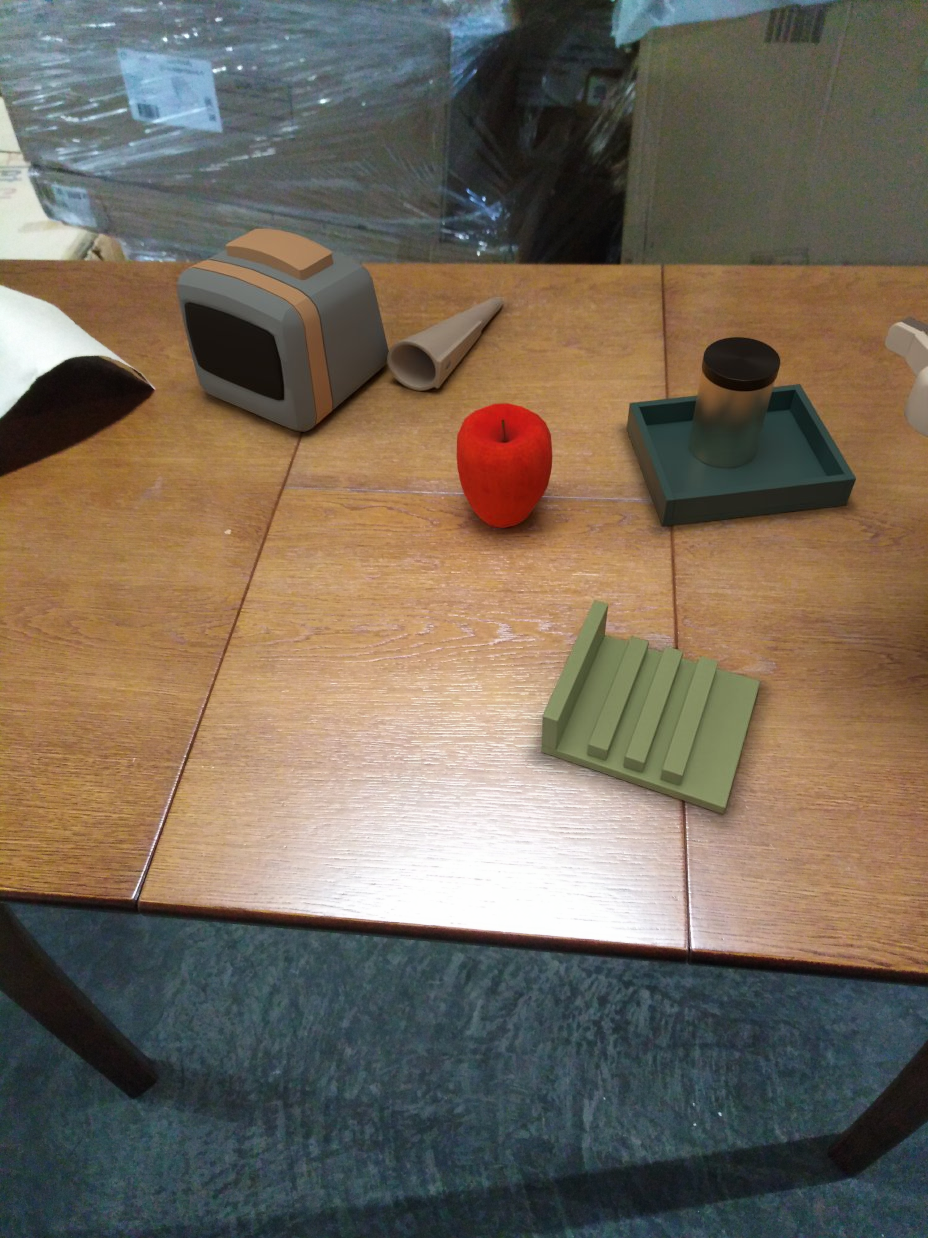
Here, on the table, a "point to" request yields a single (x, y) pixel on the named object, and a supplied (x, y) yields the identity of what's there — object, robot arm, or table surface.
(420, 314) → the table surface
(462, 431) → the apple
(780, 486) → the tray
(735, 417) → the travel mug
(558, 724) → the drying rack
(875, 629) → the table surface
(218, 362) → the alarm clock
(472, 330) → the long tapered cone
